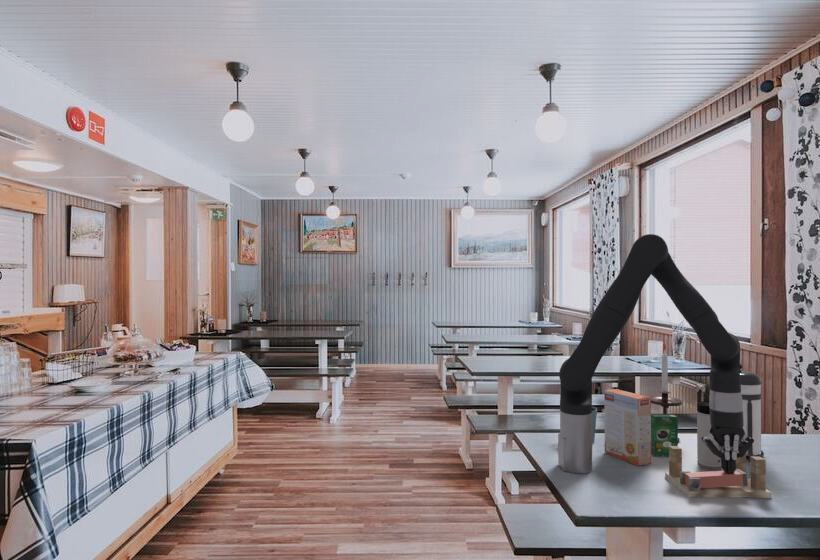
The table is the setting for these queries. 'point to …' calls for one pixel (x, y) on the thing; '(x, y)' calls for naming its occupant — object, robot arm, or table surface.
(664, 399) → the candlestick
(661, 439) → the coffee box
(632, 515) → the table surface
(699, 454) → the travel mug
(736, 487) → the stool seat
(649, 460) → the cracker box
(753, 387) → the coffee press
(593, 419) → the drinking glass
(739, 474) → the folding leg
